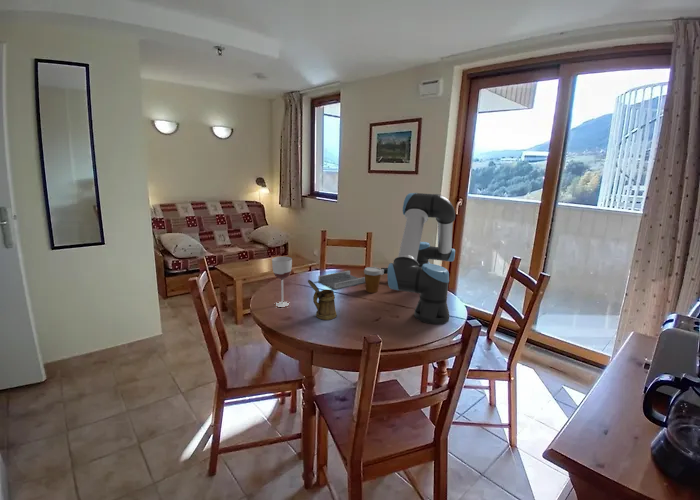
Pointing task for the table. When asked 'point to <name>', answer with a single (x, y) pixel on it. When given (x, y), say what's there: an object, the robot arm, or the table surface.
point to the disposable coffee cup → (372, 279)
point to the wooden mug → (324, 303)
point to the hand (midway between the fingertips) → (383, 276)
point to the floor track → (340, 280)
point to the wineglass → (282, 273)
